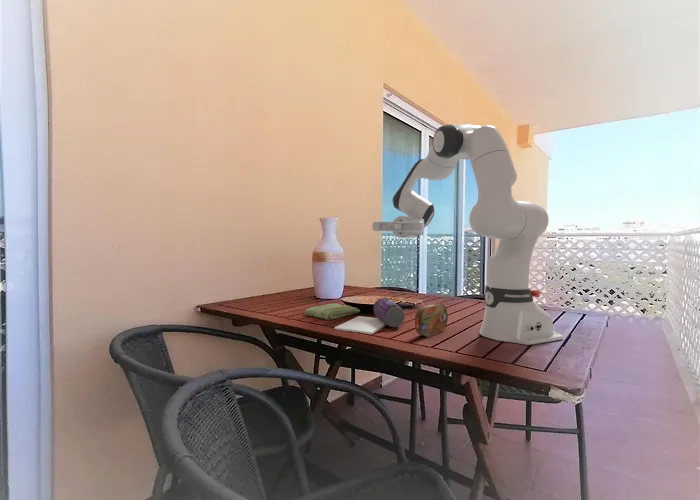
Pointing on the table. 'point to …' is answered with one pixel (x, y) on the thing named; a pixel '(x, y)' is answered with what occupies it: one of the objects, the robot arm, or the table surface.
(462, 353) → the table surface
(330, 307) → the washcloth
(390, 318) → the beverage can
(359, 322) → the white rectangular slab
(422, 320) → the tin
